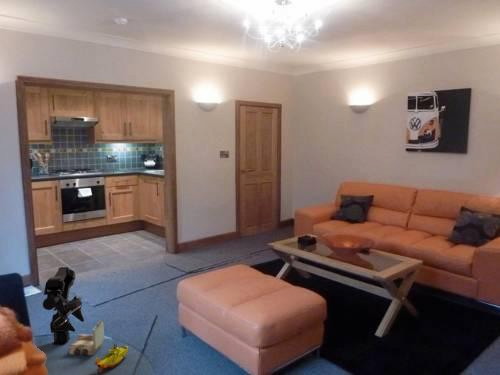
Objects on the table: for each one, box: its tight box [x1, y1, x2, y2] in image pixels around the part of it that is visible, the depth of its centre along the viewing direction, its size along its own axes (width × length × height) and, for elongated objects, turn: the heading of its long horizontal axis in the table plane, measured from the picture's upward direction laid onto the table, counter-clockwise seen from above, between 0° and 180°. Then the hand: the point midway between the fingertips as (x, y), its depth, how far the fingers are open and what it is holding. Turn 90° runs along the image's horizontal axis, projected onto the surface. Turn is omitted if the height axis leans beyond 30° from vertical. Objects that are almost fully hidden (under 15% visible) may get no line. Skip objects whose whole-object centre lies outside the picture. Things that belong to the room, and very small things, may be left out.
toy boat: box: [94, 343, 129, 374], centre depth 186 cm, size 6×18×10 cm, turn 152°
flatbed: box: [68, 333, 103, 356], centre depth 199 cm, size 12×11×5 cm
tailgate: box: [92, 318, 105, 349], centre depth 198 cm, size 2×10×12 cm, turn 177°
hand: (79, 326), depth 197 cm, fingers open, 9 cm apart
